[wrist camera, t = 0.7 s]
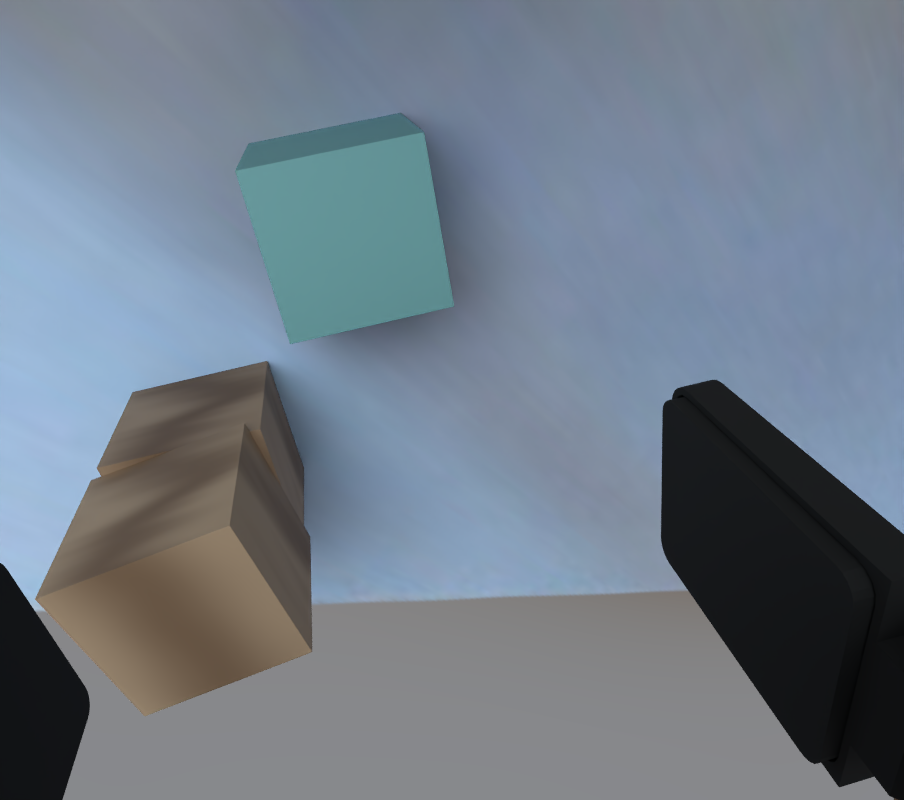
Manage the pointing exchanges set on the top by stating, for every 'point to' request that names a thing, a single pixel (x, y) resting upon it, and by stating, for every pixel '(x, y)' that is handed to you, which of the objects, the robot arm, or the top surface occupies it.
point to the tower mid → (185, 572)
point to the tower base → (209, 423)
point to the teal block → (347, 225)
